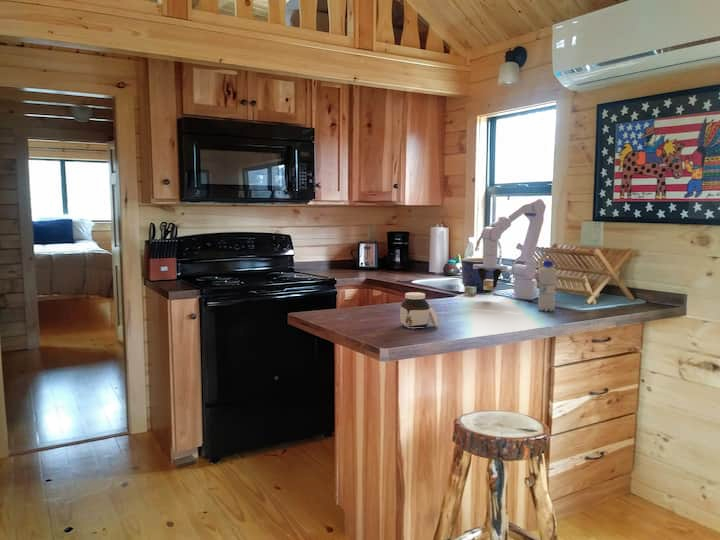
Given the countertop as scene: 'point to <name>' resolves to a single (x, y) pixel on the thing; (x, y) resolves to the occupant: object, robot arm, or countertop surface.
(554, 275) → the bottle
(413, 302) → the spread jar
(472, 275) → the planter
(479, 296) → the white rectangular panel
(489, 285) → the maple cube
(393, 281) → the countertop surface
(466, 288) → the sage base cube
